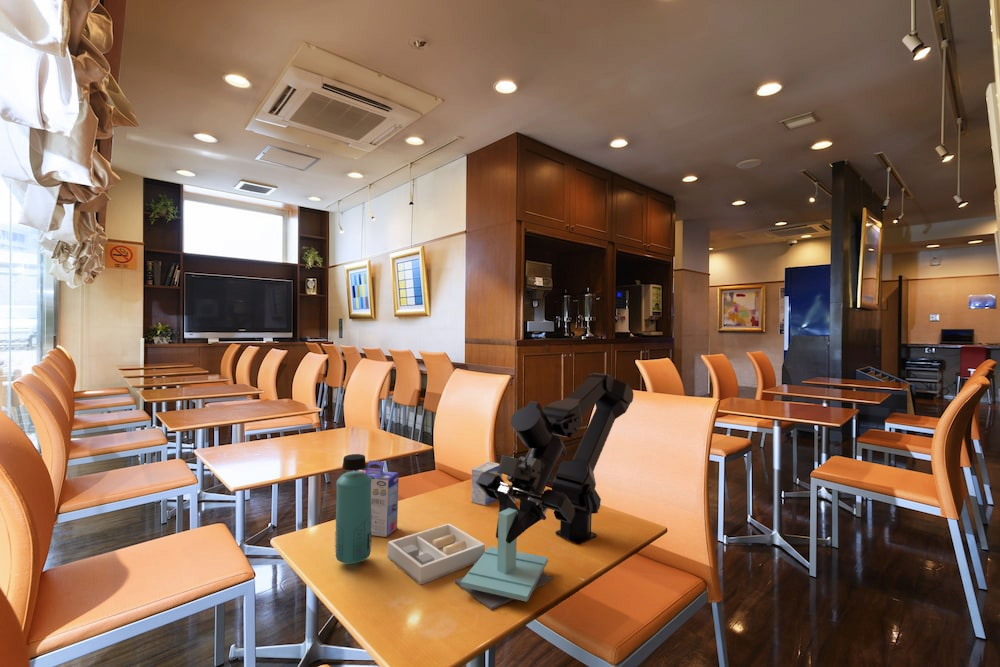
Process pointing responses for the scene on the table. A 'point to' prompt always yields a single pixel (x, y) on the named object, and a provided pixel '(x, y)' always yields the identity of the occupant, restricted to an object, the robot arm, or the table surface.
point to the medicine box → (477, 492)
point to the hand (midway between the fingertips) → (502, 540)
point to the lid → (506, 566)
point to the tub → (435, 552)
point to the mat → (497, 600)
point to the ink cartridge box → (383, 499)
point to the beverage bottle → (353, 512)
